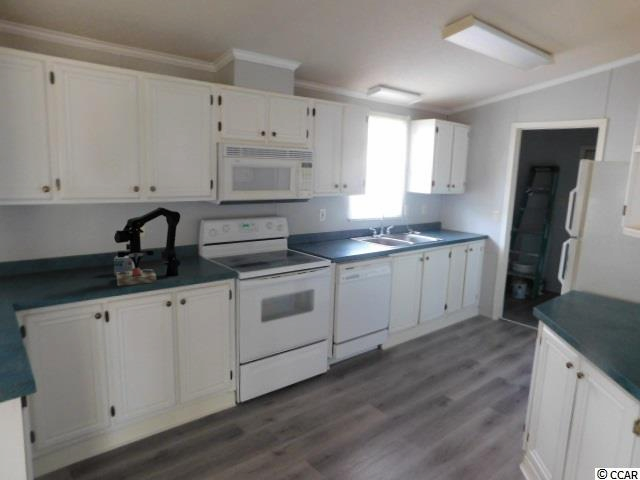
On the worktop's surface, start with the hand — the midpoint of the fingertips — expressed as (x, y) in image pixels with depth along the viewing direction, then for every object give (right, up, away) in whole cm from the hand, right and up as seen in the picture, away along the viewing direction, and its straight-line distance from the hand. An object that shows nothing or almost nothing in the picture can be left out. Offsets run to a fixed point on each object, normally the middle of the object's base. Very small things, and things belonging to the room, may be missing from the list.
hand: (136, 267), depth 231 cm
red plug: (0, -5, +1) cm, 5 cm away
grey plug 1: (-9, -7, +5) cm, 13 cm away
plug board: (-2, -8, +5) cm, 9 cm away
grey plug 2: (+1, -6, +11) cm, 13 cm away
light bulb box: (-16, -5, +20) cm, 26 cm away
